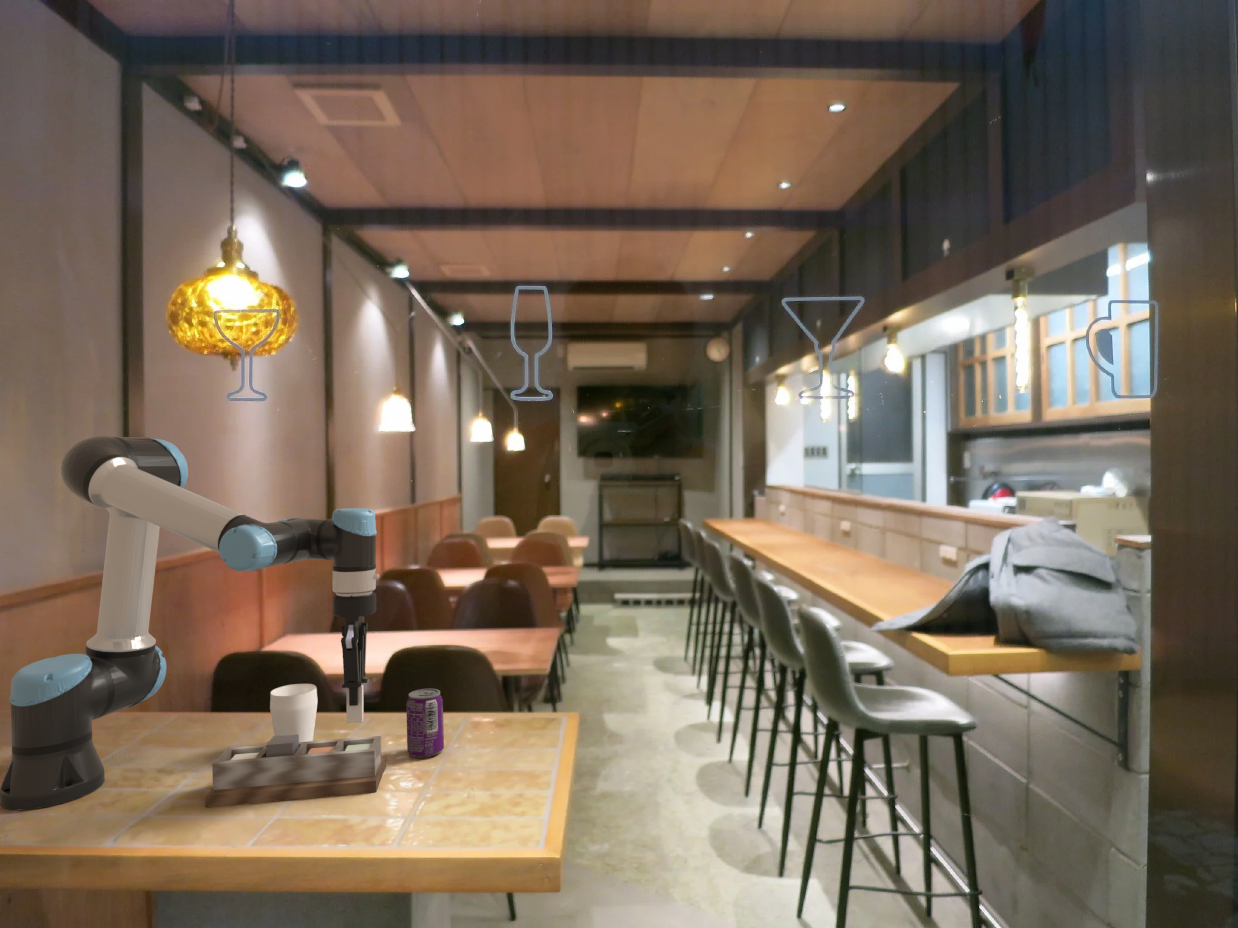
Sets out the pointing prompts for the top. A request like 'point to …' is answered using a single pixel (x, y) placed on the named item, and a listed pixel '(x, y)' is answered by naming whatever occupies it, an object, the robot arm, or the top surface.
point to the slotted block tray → (296, 773)
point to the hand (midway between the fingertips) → (355, 720)
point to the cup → (294, 710)
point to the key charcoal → (282, 745)
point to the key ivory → (244, 756)
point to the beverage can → (425, 723)
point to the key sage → (358, 747)
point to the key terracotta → (321, 750)
